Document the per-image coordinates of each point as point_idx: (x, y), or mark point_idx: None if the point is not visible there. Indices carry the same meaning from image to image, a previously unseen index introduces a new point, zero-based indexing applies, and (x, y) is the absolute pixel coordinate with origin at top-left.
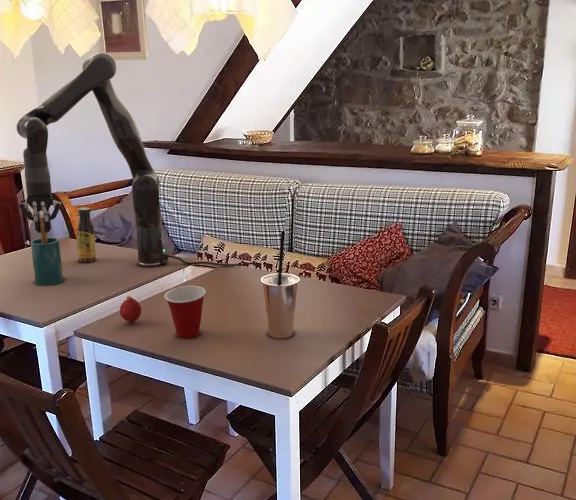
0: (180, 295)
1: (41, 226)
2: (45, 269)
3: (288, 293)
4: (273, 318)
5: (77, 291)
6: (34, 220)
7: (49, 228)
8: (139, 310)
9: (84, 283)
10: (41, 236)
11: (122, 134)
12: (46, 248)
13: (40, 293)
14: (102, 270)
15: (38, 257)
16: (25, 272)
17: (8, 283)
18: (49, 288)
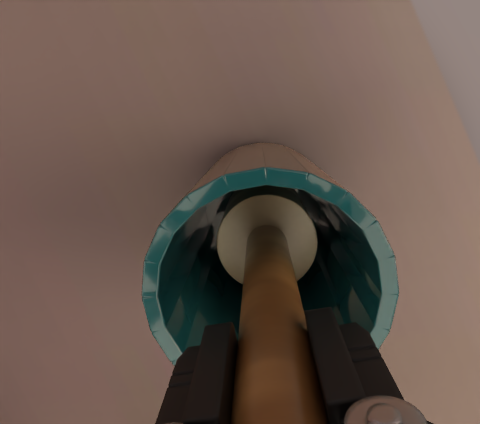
0: None
1: (279, 361)
2: (241, 151)
3: None
4: None
5: (52, 64)
6: (407, 412)
7: (181, 365)
8: None
9: (78, 185)
10: (289, 296)
11: None
12: (206, 179)
13: (220, 17)
14: (88, 367)
15: (279, 155)
16: (438, 325)
17: (456, 159)
18: (211, 98)
